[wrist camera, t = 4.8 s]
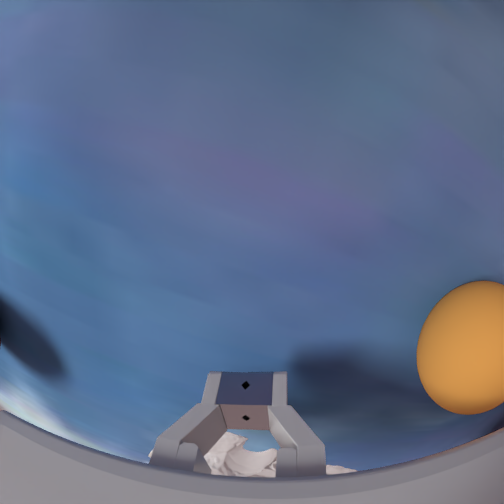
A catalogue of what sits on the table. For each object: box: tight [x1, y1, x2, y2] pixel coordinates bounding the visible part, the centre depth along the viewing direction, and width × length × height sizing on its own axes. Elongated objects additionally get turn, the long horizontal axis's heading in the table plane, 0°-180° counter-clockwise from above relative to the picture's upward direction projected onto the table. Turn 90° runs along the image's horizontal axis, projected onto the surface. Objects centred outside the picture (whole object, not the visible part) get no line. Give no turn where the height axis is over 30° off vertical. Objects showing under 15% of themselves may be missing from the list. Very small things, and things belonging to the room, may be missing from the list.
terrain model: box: [148, 432, 356, 477], centre depth 21 cm, size 17×23×5 cm
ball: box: [417, 281, 504, 415], centre depth 10 cm, size 6×6×6 cm
